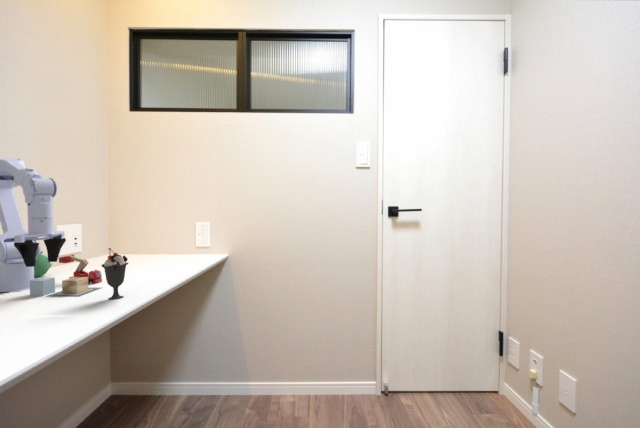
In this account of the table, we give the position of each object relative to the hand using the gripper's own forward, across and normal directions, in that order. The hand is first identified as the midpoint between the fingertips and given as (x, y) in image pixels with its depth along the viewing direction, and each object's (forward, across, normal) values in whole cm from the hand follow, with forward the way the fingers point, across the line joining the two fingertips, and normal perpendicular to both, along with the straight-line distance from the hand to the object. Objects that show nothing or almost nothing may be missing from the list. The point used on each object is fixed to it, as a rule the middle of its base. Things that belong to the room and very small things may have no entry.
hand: (42, 264), depth 96 cm
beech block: (+9, +2, -8) cm, 12 cm away
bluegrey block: (+10, 0, 0) cm, 10 cm away
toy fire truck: (+10, +14, 0) cm, 17 cm away
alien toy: (+10, +24, +24) cm, 35 cm away
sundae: (+10, -4, -24) cm, 27 cm away
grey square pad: (+9, +2, -8) cm, 13 cm away
